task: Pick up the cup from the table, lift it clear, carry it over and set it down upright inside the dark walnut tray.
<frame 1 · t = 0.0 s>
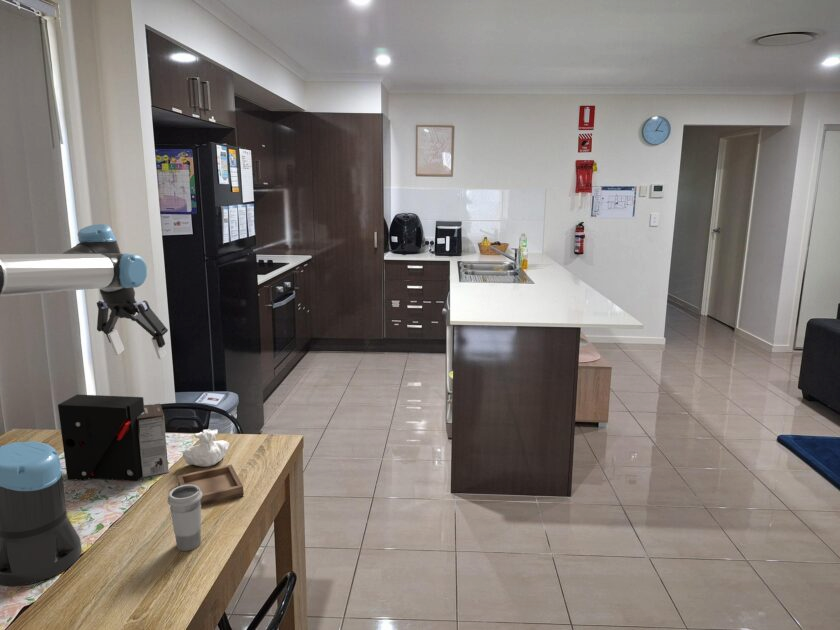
hand: (141, 354, 161), 28 cm above the table, tool tilted 20°, fingers open, 13 cm apart
electrical component: (111, 474, 154), on the table, touching coffee box
coffee box: (154, 468, 157), on the table, touching electrical component
tray: (210, 490, 145), on the table
cup: (189, 545, 124), on the table
white lumpy piece: (207, 464, 159), on the table
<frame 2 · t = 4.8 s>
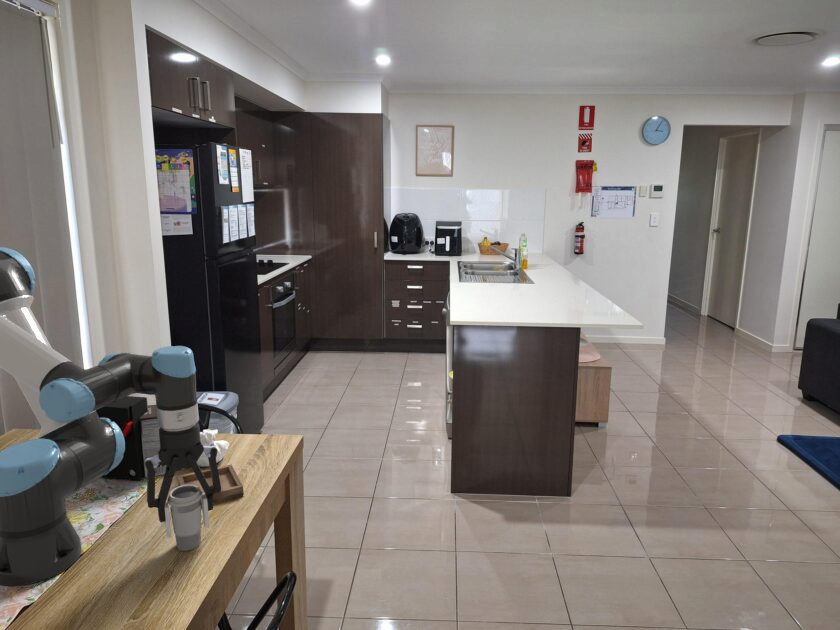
hand: (187, 529, 123), 3 cm above the table, tool pointing down, fingers closed on cup, 7 cm apart
coffee box: (157, 468, 157), on the table, touching electrical component
cup: (189, 545, 124), on the table, touching gripper
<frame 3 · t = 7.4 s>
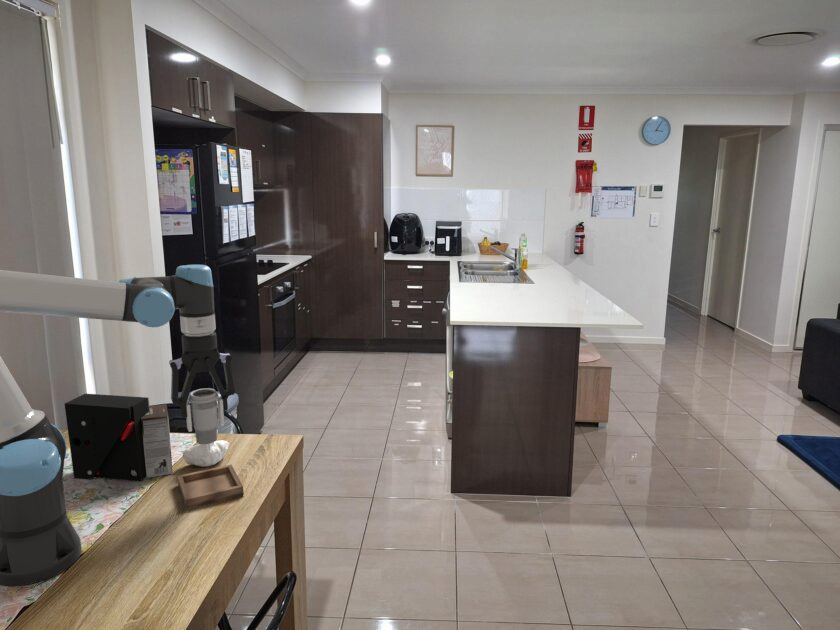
hand: (205, 426, 142), 17 cm above the table, tool pointing down, fingers closed on cup, 7 cm apart
cup: (206, 440, 143), point 13 cm above the table, touching gripper
when the fingers open (5 cm above the table, at t = 10.2 s): cup stays where it is, resting on tray.
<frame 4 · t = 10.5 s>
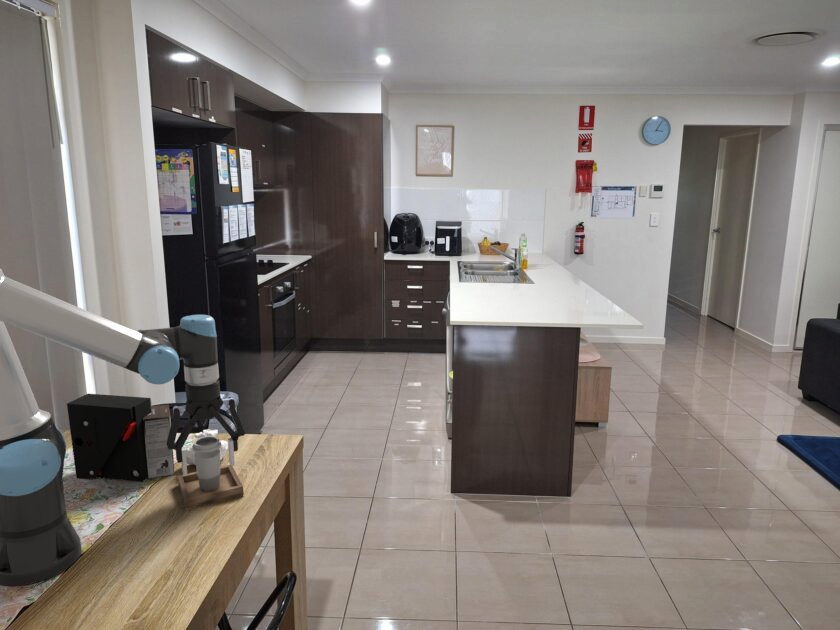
hand: (208, 468, 144), 6 cm above the table, tool pointing down, fingers open, 10 cm apart
electrical component: (119, 473, 154), on the table, touching coffee box
cup: (209, 487, 145), point 1 cm above the table, touching tray
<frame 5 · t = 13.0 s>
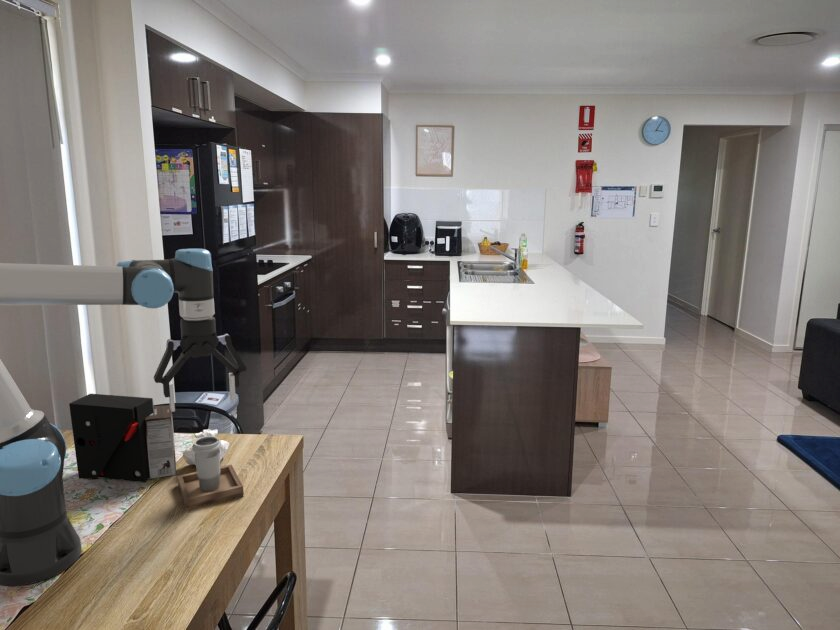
hand: (203, 405, 141), 22 cm above the table, tool pointing down, fingers open, 13 cm apart
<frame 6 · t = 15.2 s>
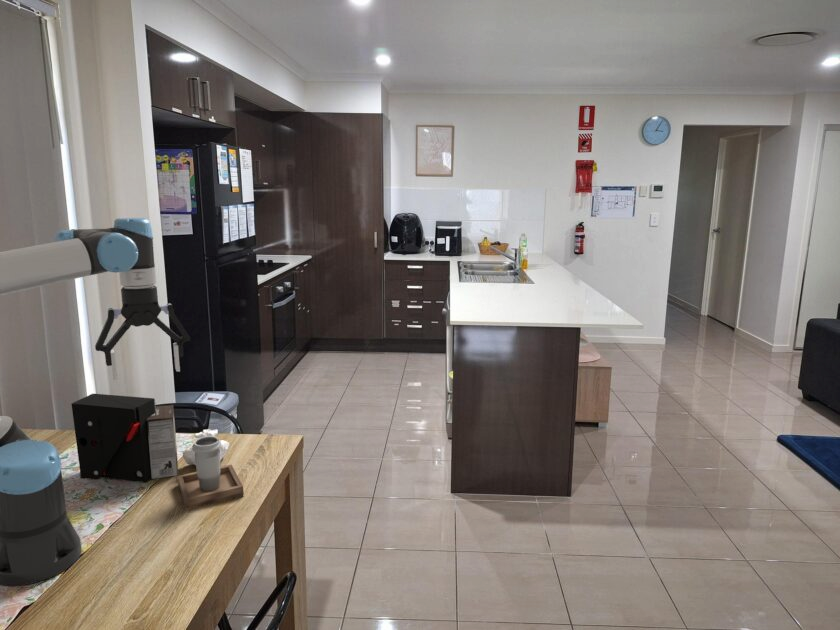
hand: (147, 374, 142), 29 cm above the table, tool pointing down, fingers open, 13 cm apart
coffee box: (165, 470, 156), on the table, touching electrical component
at the end: cup inside the target area on the tray (0.1 cm from its centre), point 0.8 cm above the tray's base; cup tilted 0°; the gripper is holding nothing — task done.
